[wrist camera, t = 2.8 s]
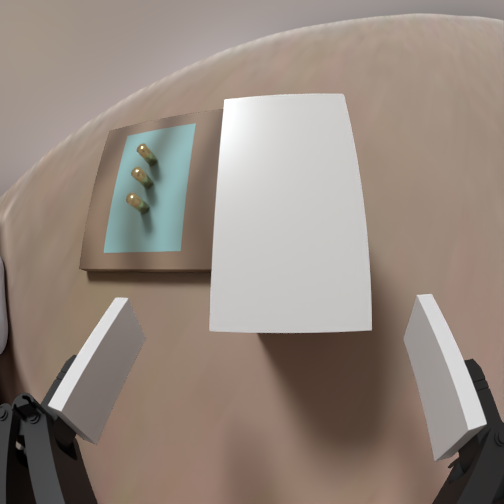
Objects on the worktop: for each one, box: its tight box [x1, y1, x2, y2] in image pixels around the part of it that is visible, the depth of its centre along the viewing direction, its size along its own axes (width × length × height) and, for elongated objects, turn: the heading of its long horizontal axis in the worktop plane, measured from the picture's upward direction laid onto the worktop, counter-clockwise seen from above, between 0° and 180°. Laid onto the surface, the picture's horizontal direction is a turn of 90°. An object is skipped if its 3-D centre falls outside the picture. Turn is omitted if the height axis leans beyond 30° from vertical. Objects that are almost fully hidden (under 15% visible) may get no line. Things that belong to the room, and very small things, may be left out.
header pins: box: [126, 143, 157, 214], centre depth 24 cm, size 1×6×2 cm, turn 179°
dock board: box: [79, 109, 224, 272], centre depth 26 cm, size 14×16×1 cm
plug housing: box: [209, 94, 372, 333], centre depth 17 cm, size 6×11×12 cm, turn 179°
